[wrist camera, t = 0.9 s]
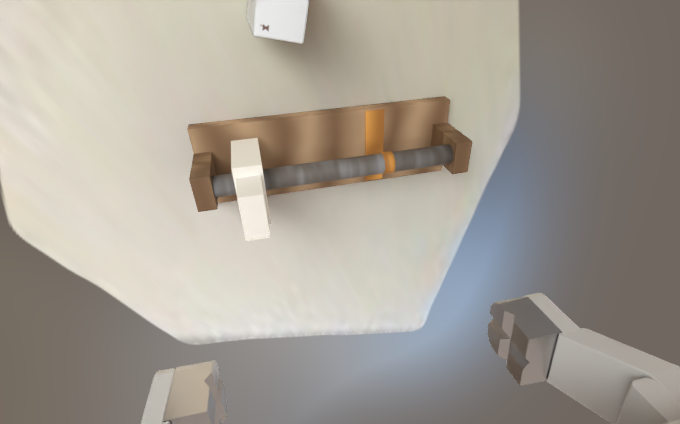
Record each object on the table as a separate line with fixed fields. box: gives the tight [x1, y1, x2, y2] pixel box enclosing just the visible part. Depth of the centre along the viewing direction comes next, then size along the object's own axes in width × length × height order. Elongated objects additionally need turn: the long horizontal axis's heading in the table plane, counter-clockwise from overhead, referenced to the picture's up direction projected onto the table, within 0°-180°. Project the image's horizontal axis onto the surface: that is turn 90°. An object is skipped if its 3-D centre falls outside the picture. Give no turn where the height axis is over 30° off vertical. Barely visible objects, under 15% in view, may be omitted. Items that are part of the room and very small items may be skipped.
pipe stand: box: [188, 97, 472, 212], centre depth 48 cm, size 32×10×8 cm, turn 92°
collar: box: [231, 138, 271, 241], centre depth 42 cm, size 3×7×11 cm, turn 2°
